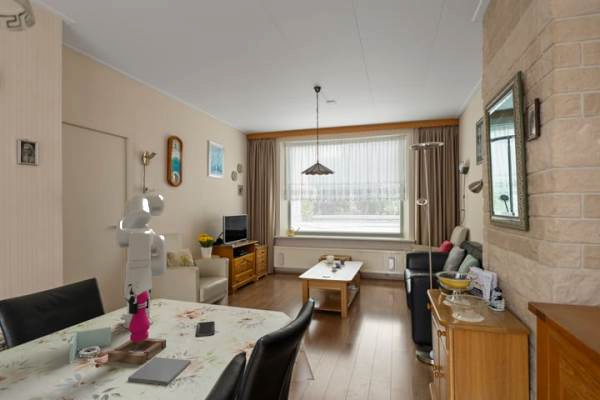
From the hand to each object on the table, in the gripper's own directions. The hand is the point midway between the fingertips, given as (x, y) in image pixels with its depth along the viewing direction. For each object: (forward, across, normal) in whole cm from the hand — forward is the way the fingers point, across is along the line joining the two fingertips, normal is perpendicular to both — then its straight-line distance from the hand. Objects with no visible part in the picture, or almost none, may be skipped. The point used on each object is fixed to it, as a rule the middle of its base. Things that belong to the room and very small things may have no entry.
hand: (139, 310), depth 121 cm
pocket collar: (+16, +1, +1) cm, 16 cm away
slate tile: (+16, +11, +17) cm, 25 cm away
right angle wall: (+17, +3, -17) cm, 25 cm away
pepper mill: (+11, 0, 0) cm, 11 cm away
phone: (+17, -26, +15) cm, 35 cm away
